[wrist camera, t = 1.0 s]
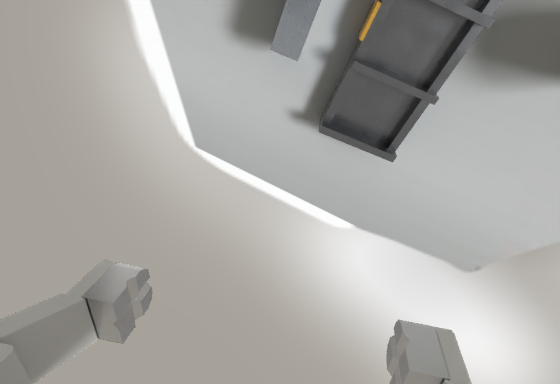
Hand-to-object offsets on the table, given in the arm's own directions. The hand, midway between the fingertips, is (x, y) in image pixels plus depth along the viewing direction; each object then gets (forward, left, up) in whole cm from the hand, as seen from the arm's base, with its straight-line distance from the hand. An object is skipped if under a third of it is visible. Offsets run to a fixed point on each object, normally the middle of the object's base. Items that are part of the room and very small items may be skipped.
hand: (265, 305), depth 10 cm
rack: (-5, +9, -33) cm, 34 cm away
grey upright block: (-3, -3, -33) cm, 33 cm away
